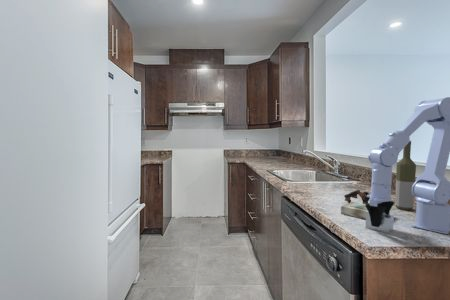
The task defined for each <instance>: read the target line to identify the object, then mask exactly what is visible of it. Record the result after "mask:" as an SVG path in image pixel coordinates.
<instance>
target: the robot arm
mask: <svg viewBox="0 0 450 300" xmlns="http://www.w3.org/2000/svg"><path fill="white" fill-rule="evenodd" d="M424 123H427V124H428V125H429V126H431V127H432V128H433V134H432V138H431V142H430V146H429V151H428V155H427V159H426V163H425V168H424V171H423V172H422V173H421V174H419V175H417V177H416V178H415V183H414V184H413V186H412V194H413V195H414V197H415V198H414V199H415V200H416V208H415V211H416V212H415V222H414V223H413V224H412V227H413V228H417V229H422V230H426V231H431V232H435V233H441V234H445V235H449V233H450V204H447V203H448V202H449V201H450V180H449V179H447V178H446V177H445V174H446V172H447V171H446V169H447V166H448V162H449V157H450V97H449V96H447V97H444V98H443V97H442V98H437V99H431V100H422V101H420V102H419V103H418V104H417V106H415V107H414V109H413V113H412V114H411V116H410V117H409V118H408V119H407V120H406V122H405V123H404V124H403V125H402V127H401V128H400V129H399V130H393V131H392V132H390V133H389V134H388V137H387V138H386V139H385V140H384V141H383V142H382V143H380V144H379V147H376V148H374V149H372V150H371V152H370V153H369V155H368V156H367V157H368V161H369V162H370V167H371V186H370V195H367V197H369V198H370V199H369V202H368V203H367V204H366V208H367V210H368V212H369V215H370V220H371V225H372V226H375V227H379V226H380V223H381V219H382V215H383V213H384V212H386V213H385V214H387V215H389V212H391V210H392V208H393V206H394V205H395V201H393V200H392V197H391V196H392V179H393V178H392V177H393V166H394V165H395V164H397V163H398V158H399V157H398V156H400V153H401V152H402V151H403V148H404V147H405V146H406V145H407V144H408V143H409V142H410V141H411V139H410V137H411V135H413V134H414V133H415V132H416V131H417V130H418V129H419V128H420V127H421V126H422V125H423V124H424Z"/></svg>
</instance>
